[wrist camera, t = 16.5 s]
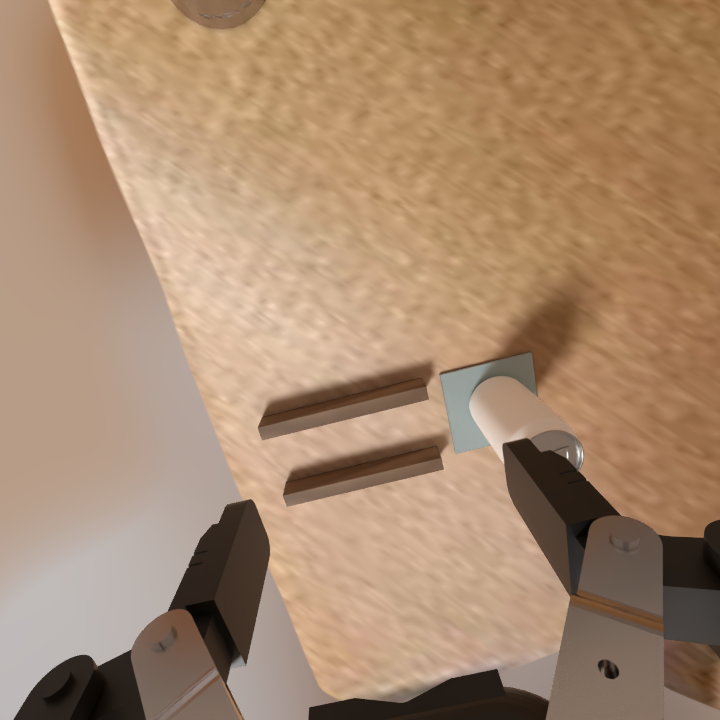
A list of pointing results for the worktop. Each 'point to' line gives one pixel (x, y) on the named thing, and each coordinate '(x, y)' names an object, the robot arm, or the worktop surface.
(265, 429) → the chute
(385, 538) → the worktop surface
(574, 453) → the can
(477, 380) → the pad
